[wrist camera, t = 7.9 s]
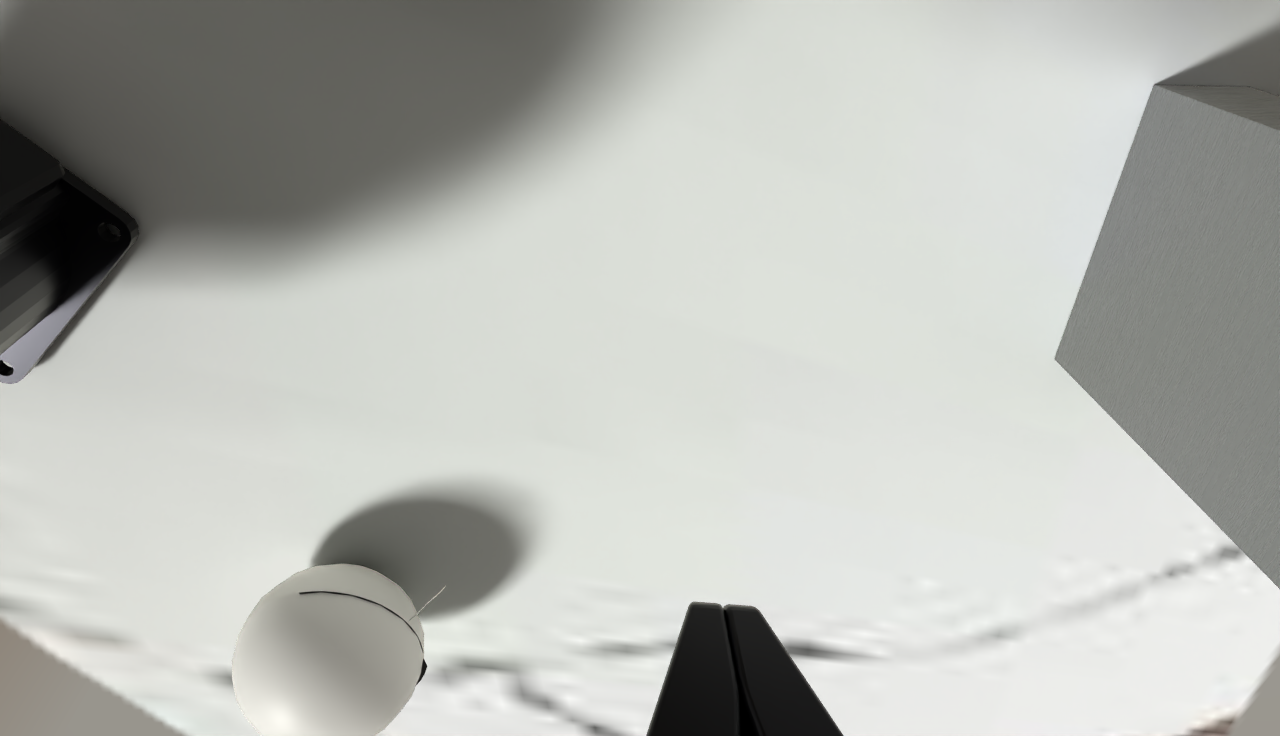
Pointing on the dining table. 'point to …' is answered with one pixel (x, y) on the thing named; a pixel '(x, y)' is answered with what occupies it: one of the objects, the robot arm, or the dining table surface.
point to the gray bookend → (1194, 306)
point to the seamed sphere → (329, 654)
